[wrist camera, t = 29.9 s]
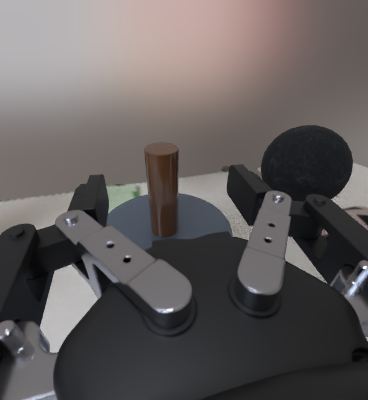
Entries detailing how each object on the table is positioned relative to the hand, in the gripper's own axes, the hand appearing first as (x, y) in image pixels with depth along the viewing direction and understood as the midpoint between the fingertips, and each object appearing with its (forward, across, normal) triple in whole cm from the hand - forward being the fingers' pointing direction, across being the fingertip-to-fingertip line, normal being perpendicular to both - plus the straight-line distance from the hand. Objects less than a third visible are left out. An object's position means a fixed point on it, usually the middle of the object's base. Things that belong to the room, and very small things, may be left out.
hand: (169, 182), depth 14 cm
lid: (+4, 0, +8) cm, 9 cm away
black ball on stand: (+17, -24, +17) cm, 34 cm away
